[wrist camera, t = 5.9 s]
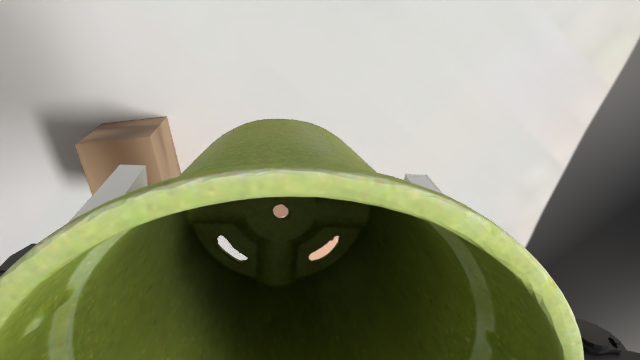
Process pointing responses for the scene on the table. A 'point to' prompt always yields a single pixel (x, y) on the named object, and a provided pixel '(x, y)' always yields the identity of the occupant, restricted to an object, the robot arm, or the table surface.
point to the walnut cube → (129, 150)
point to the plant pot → (283, 268)
